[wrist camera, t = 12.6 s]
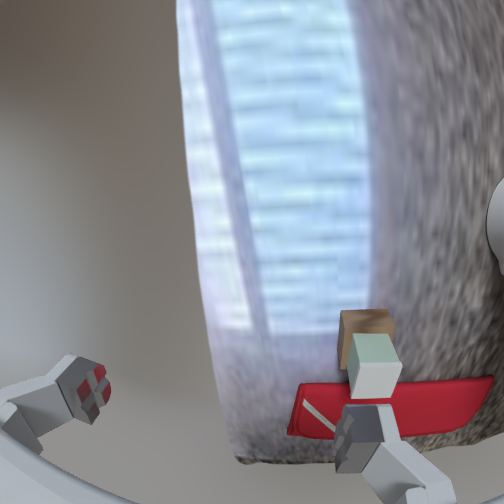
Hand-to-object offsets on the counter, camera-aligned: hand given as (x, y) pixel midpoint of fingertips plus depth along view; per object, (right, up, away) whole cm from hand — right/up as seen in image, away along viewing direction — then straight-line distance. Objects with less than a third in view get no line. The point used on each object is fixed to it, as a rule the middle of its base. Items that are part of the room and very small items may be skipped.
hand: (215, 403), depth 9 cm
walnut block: (+17, -7, +33) cm, 38 cm away
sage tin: (+17, -8, +28) cm, 34 cm away
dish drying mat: (+29, -24, +38) cm, 53 cm away
